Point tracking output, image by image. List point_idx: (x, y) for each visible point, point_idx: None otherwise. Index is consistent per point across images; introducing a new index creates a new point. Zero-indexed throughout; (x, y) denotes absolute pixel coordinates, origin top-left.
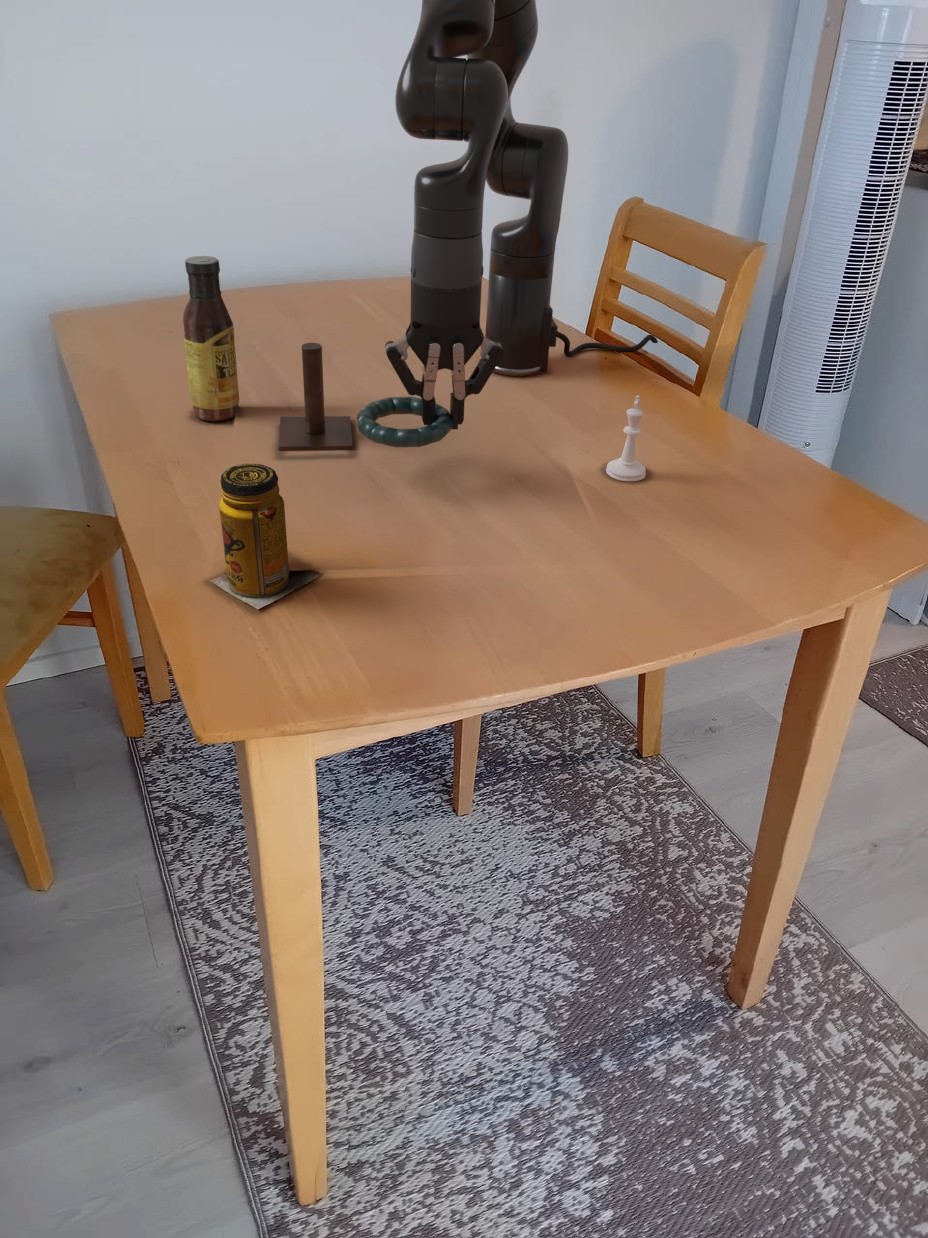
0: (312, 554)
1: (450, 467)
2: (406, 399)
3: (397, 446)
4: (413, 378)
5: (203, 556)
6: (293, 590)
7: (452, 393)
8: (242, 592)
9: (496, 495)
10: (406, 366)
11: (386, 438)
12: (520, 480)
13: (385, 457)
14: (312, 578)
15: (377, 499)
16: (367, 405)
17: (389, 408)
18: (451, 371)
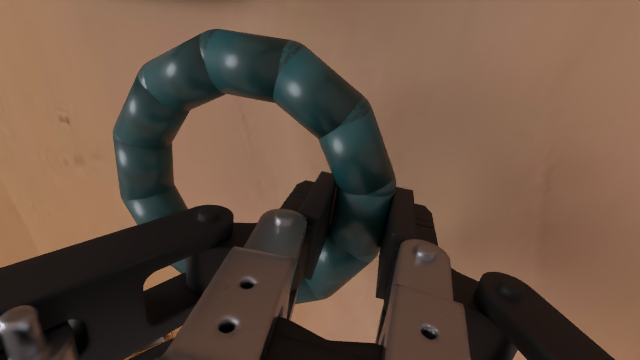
0: None
1: (417, 91)
2: (257, 85)
3: None
4: (206, 246)
5: None
6: (138, 351)
7: (397, 242)
8: None
9: (463, 230)
10: (120, 326)
11: None
12: (551, 188)
13: (282, 8)
14: (155, 343)
15: (244, 187)
16: (129, 105)
17: (207, 100)
18: (389, 304)
